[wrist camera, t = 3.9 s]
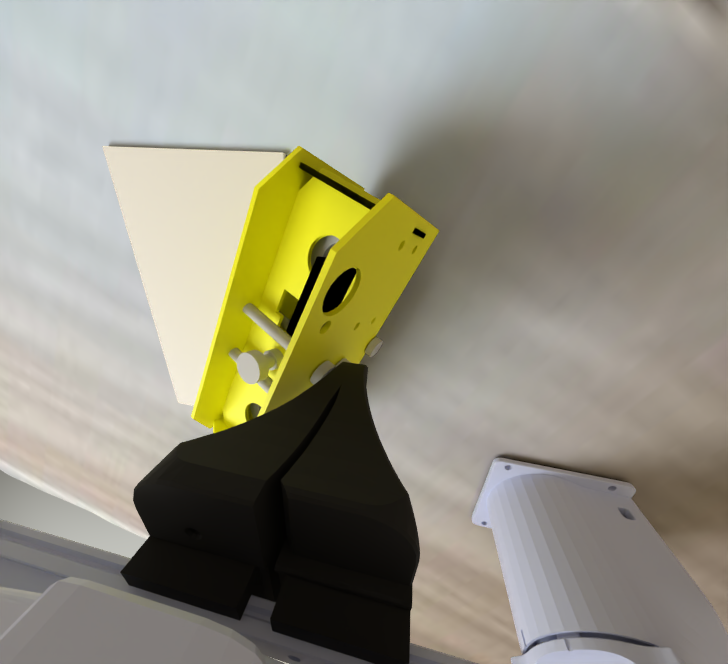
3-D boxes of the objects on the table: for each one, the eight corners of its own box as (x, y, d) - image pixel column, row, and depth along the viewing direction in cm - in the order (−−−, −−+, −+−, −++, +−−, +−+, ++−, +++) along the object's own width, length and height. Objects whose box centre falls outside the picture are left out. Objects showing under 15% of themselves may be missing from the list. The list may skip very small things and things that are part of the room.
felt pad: (285, 153, 14) (283, 152, 14) (299, 424, 23) (298, 427, 22) (107, 147, 16) (102, 146, 16) (180, 400, 24) (178, 402, 24)
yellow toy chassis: (325, 437, 19) (220, 532, 12) (274, 388, 21) (156, 446, 14) (450, 237, 13) (387, 185, 6) (364, 189, 14) (227, 100, 7)
